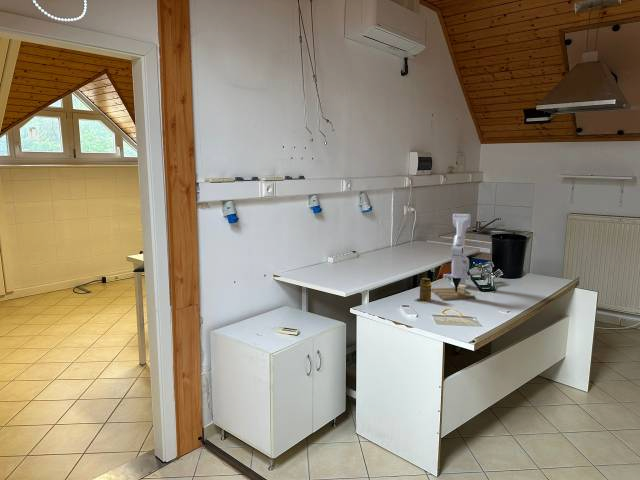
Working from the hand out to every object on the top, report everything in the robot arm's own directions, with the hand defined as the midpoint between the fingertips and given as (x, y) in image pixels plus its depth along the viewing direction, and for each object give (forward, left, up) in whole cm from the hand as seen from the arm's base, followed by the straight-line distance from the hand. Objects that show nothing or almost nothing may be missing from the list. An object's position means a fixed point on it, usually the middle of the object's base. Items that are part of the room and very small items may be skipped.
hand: (456, 291), depth 264 cm
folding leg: (-3, +4, -1) cm, 5 cm away
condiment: (+3, -19, -3) cm, 20 cm away
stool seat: (-4, 0, -3) cm, 5 cm away
